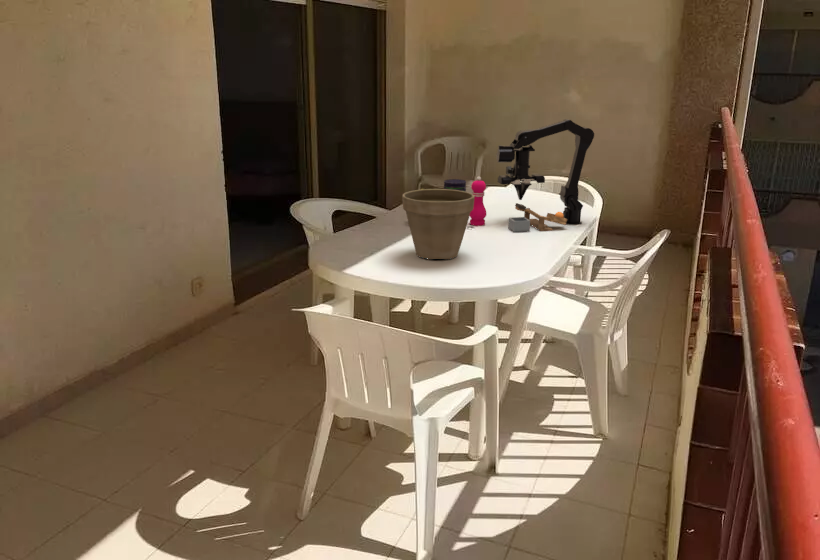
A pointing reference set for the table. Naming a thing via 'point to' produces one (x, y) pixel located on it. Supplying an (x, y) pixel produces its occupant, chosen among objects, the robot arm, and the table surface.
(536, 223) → the frame
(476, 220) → the pepper mill
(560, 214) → the ball
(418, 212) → the plant pot
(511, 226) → the grey open box
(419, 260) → the table surface
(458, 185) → the storage jar
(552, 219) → the catapult lever
